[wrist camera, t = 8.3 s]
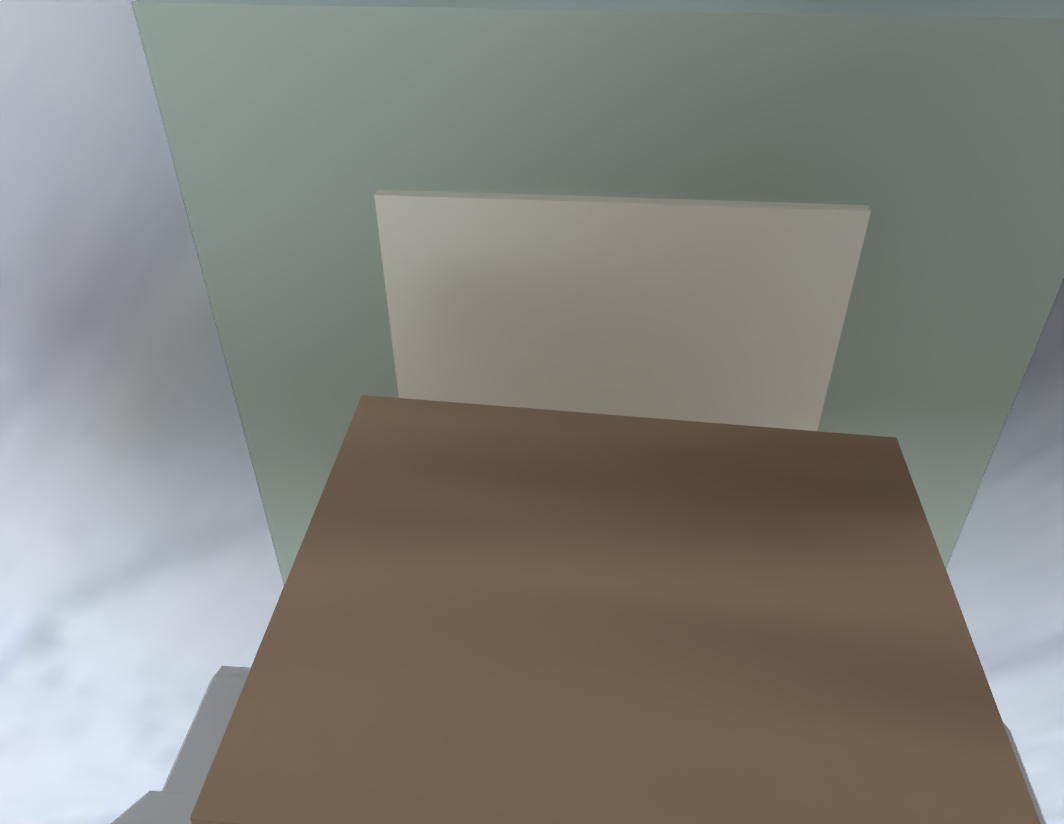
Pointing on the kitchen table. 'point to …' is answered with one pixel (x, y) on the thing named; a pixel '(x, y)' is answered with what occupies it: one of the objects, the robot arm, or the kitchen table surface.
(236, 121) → the mat
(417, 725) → the walnut block
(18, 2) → the kitchen table surface
